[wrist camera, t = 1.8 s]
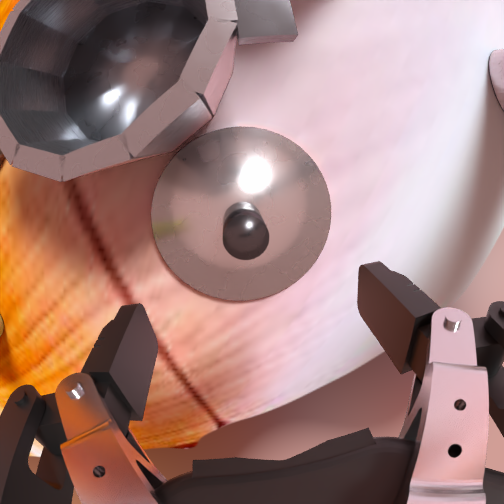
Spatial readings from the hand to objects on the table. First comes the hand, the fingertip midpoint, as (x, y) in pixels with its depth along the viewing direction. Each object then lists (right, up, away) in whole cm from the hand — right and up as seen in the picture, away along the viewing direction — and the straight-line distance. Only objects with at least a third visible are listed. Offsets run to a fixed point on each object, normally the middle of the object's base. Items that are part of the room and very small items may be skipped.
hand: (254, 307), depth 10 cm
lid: (-1, +5, +12) cm, 13 cm away
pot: (-9, +15, +6) cm, 19 cm away
